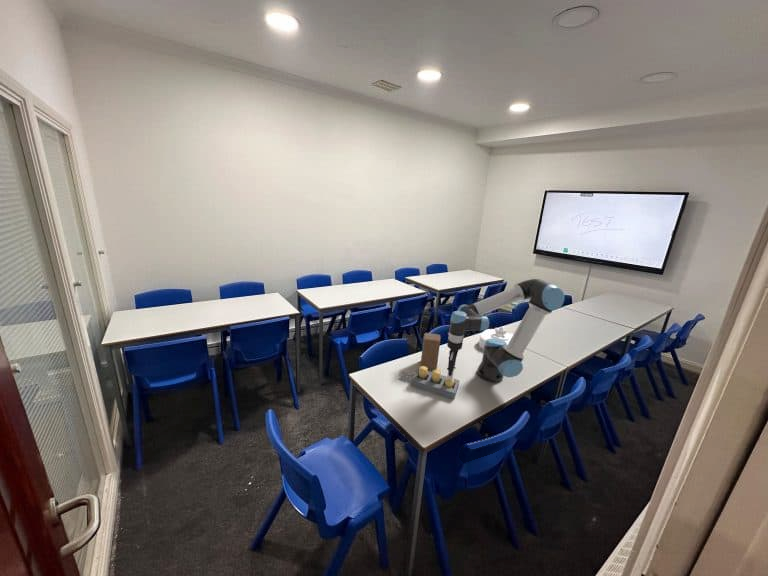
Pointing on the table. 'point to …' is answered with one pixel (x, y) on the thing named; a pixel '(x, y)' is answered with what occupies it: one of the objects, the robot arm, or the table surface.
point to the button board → (435, 385)
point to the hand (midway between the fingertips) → (449, 379)
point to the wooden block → (430, 351)
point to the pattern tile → (406, 377)
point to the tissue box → (495, 335)
